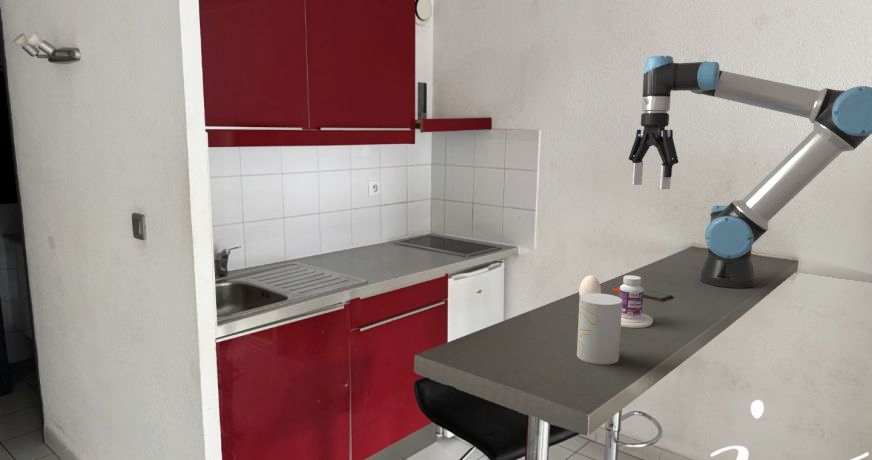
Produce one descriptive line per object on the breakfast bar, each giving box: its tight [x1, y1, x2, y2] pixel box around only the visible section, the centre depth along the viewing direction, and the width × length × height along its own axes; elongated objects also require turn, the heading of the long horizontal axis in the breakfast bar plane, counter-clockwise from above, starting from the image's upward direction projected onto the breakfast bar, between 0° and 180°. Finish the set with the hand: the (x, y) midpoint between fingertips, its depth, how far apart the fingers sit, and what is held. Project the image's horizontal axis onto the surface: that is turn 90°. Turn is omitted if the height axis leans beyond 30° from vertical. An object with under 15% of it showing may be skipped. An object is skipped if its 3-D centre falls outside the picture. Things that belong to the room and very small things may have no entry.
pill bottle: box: [618, 274, 644, 319], centre depth 142 cm, size 5×5×10 cm
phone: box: [612, 286, 674, 303], centre depth 166 cm, size 6×1×15 cm
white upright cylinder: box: [576, 292, 622, 365], centre depth 119 cm, size 8×8×12 cm
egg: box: [578, 275, 602, 297], centre depth 155 cm, size 6×6×8 cm
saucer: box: [621, 312, 654, 329], centre depth 143 cm, size 11×11×1 cm
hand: (650, 186), depth 174 cm, fingers open, 13 cm apart
